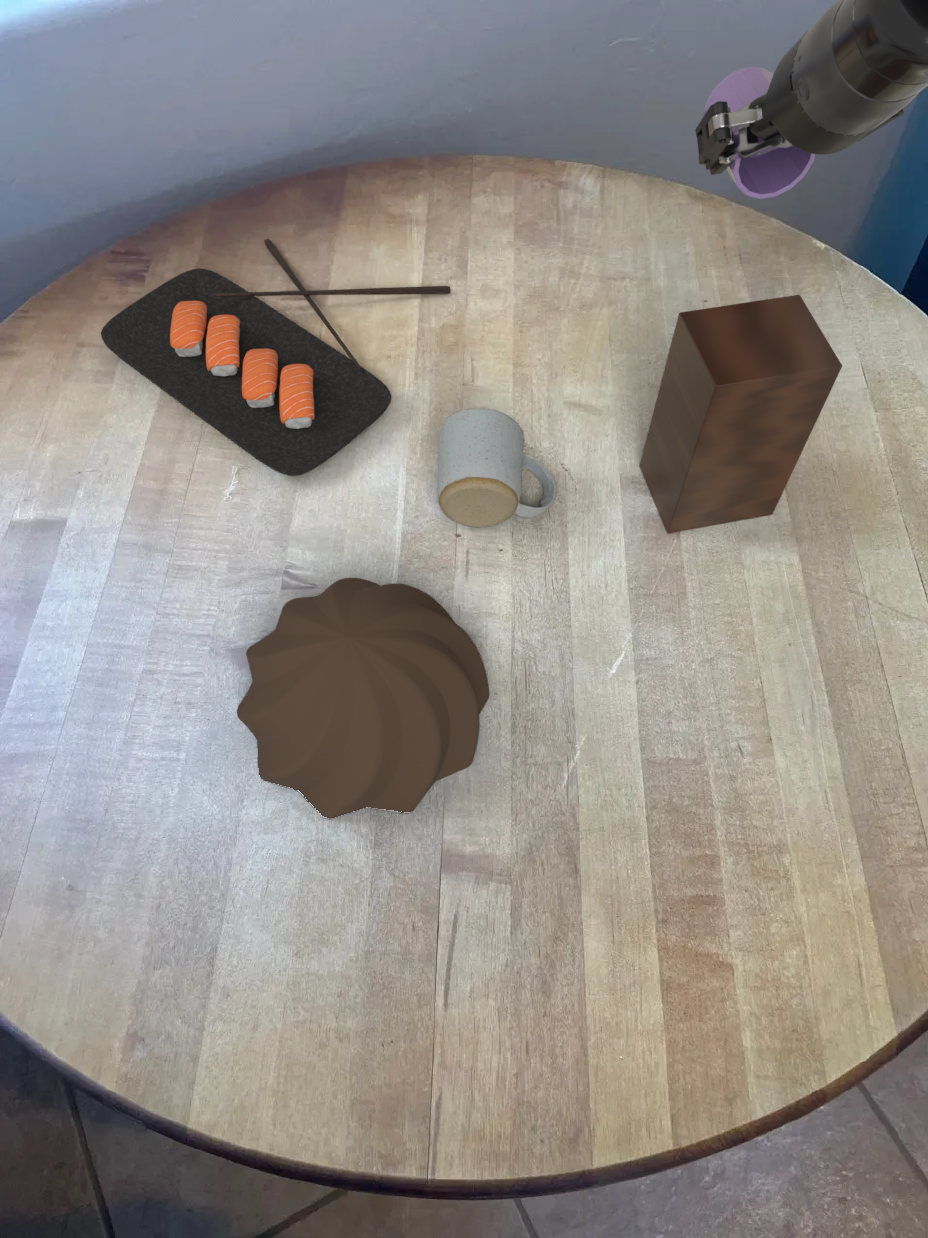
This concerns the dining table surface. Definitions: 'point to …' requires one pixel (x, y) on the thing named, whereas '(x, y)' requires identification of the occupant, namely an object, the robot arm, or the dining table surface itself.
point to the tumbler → (772, 168)
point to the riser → (735, 410)
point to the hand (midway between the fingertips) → (755, 154)
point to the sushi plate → (252, 366)
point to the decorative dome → (364, 697)
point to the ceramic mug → (486, 469)
